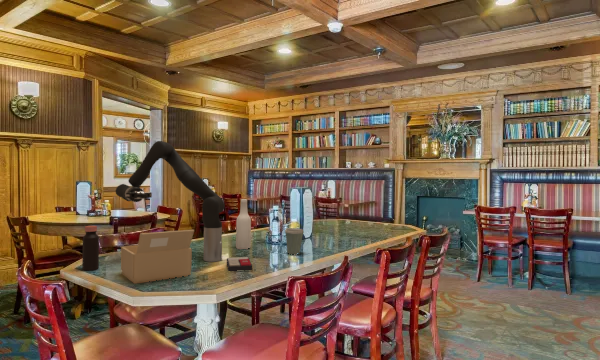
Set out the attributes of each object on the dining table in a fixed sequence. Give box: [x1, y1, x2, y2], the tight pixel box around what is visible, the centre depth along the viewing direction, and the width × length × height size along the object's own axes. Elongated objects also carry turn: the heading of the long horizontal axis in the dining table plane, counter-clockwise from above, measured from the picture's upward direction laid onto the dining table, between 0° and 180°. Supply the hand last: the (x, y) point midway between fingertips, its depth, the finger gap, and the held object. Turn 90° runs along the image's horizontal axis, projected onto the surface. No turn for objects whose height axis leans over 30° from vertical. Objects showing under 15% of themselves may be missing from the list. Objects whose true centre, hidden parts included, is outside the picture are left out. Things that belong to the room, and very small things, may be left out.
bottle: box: [81, 225, 100, 272], centre depth 188 cm, size 7×7×20 cm
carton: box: [120, 244, 193, 285], centre depth 180 cm, size 25×20×12 cm
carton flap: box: [137, 229, 195, 253], centre depth 170 cm, size 22×10×1 cm
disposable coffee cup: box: [284, 227, 304, 255], centre depth 231 cm, size 11×11×15 cm
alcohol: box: [235, 198, 252, 250], centre depth 246 cm, size 9×9×30 cm
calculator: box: [226, 256, 253, 272], centre depth 196 cm, size 11×4×15 cm
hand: (144, 196), depth 195 cm, fingers closed
